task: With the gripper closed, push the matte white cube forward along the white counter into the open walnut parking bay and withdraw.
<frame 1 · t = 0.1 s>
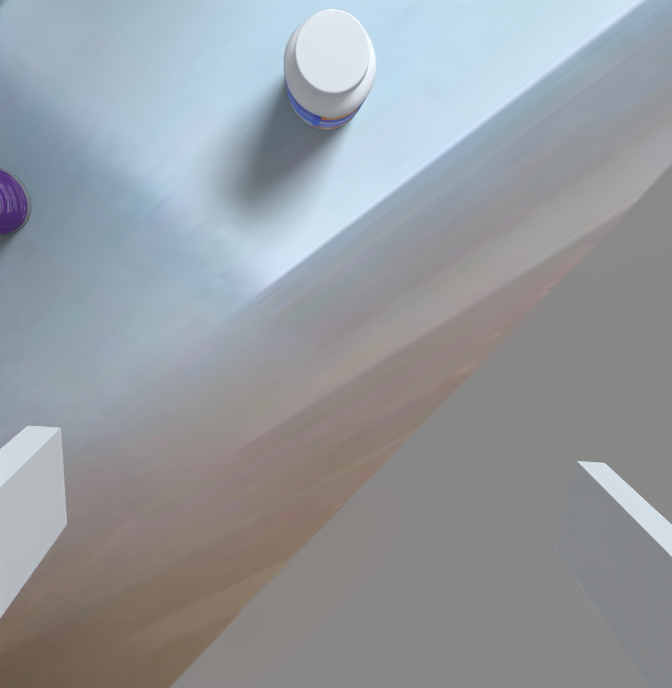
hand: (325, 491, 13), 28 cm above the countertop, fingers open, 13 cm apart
pill bottle: (325, 89, 36), on the countertop
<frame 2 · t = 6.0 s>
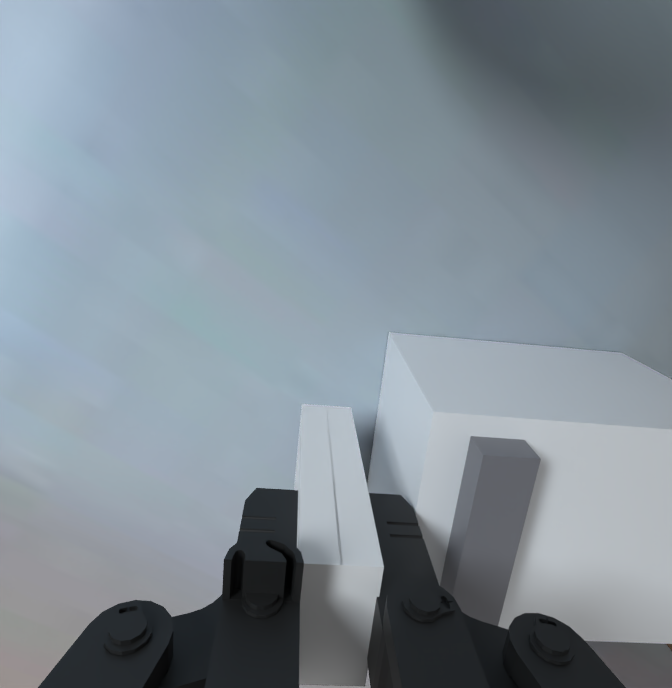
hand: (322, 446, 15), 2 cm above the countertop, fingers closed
matte white cube: (489, 424, 17), on the countertop, touching gripper
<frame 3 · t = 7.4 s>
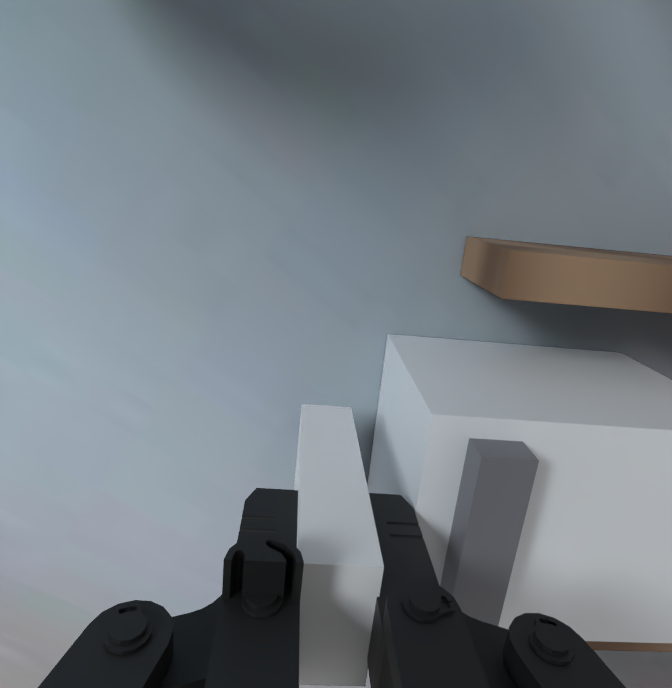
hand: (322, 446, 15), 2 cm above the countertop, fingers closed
matte white cube: (489, 425, 17), on the countertop, touching gripper
bay: (589, 428, 18), on the countertop
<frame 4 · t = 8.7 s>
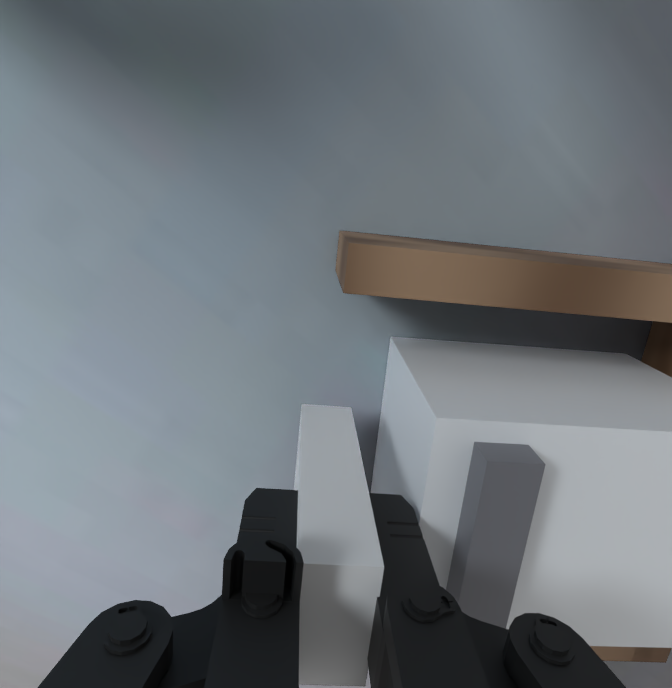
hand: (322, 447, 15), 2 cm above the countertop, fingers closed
matte white cube: (493, 427, 17), on the countertop, touching gripper
bay: (481, 428, 17), on the countertop
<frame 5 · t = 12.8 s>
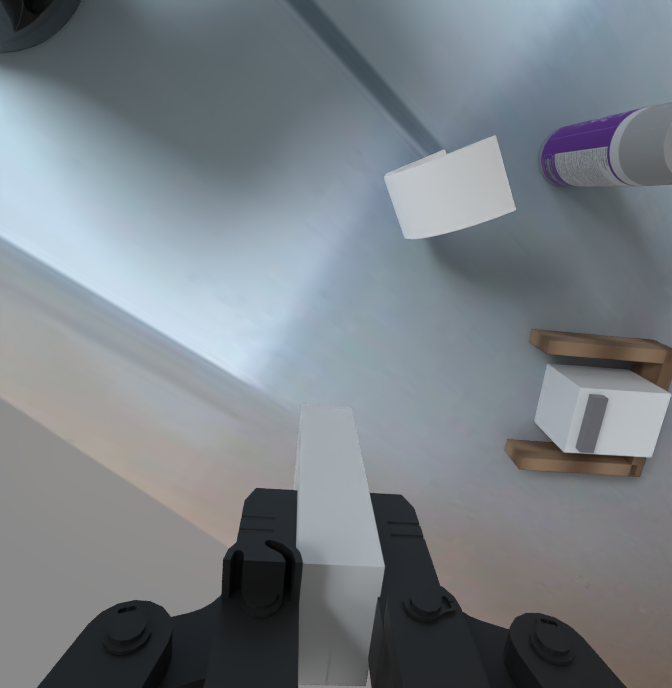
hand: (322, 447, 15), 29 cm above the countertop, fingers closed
container: (564, 157, 41), on the countertop
headphone stand: (416, 191, 42), on the countertop
matte white cube: (580, 395, 48), on the countertop
bay: (573, 396, 48), on the countertop
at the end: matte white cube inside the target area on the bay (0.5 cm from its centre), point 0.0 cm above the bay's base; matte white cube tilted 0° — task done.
